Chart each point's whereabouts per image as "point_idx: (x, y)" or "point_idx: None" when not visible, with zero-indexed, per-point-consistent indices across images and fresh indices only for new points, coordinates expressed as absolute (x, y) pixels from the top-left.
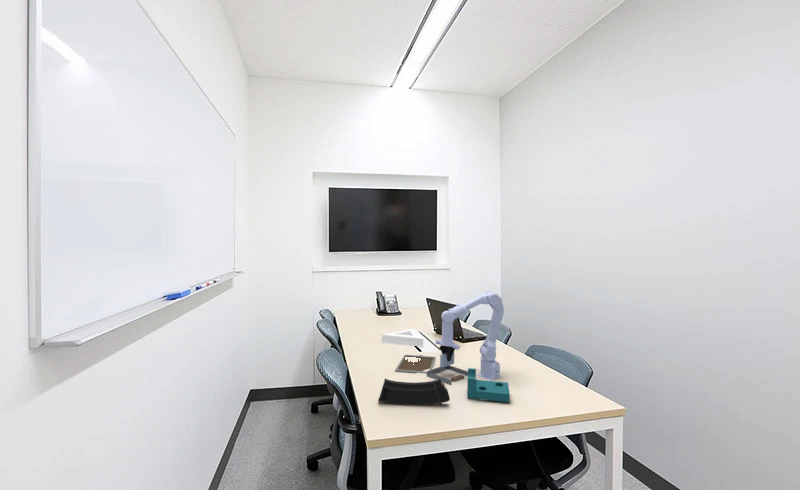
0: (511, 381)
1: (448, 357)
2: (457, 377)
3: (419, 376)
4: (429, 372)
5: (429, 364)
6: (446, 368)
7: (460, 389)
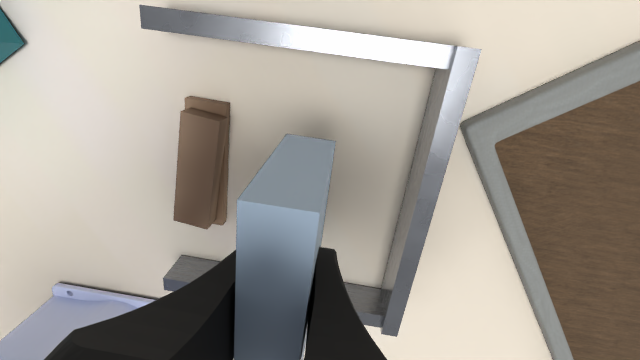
0: (4, 331)
1: (219, 263)
2: (184, 157)
3: (540, 7)
4: (445, 62)
5: (575, 311)
6: (386, 286)
7: (66, 6)
